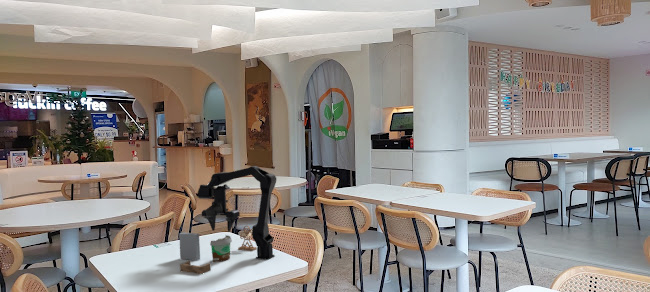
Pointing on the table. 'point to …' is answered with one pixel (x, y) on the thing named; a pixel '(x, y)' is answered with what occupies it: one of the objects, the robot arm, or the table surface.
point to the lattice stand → (247, 248)
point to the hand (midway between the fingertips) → (221, 231)
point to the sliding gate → (189, 246)
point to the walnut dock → (194, 268)
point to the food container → (221, 249)
